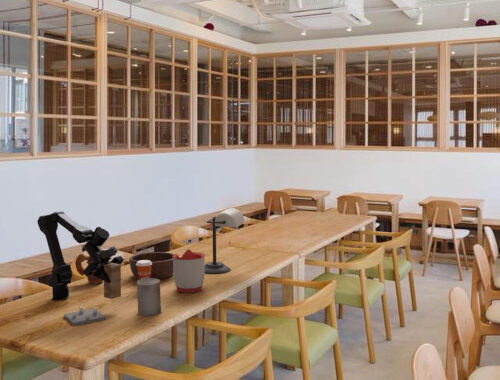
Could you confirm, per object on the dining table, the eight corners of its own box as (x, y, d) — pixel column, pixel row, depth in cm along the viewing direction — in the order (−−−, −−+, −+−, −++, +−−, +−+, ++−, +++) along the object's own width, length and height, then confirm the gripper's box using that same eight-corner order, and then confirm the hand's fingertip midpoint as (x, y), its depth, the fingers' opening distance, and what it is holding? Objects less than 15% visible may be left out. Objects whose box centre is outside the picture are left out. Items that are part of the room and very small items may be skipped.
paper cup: (137, 292, 270) (136, 263, 269) (135, 288, 278) (135, 260, 276) (153, 291, 273) (153, 262, 271) (152, 287, 280) (151, 259, 278)
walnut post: (104, 297, 243) (103, 265, 241) (112, 294, 247) (112, 262, 246) (112, 299, 240) (111, 266, 239) (120, 296, 244) (120, 264, 243)
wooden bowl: (124, 273, 308) (124, 254, 307) (169, 268, 319) (169, 250, 318) (135, 284, 286) (135, 264, 285) (183, 278, 296) (183, 259, 295)
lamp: (235, 277, 297) (234, 213, 293) (191, 275, 302) (190, 212, 299) (247, 265, 322) (247, 206, 319) (206, 263, 328) (205, 205, 324)
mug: (107, 280, 293) (106, 251, 291) (103, 284, 285) (102, 255, 283) (78, 280, 292) (77, 252, 291) (74, 285, 284) (73, 255, 283)
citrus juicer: (193, 282, 287) (192, 244, 285) (211, 290, 273) (211, 249, 271) (165, 288, 278) (164, 248, 276) (183, 296, 264) (182, 254, 262)
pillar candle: (150, 307, 248) (149, 273, 246) (165, 311, 242) (164, 277, 240) (133, 313, 241) (131, 278, 239) (148, 317, 234) (146, 282, 233)
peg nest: (64, 317, 236) (64, 308, 235) (95, 311, 243) (94, 302, 243) (74, 325, 225) (73, 316, 225) (105, 319, 232) (105, 310, 232)
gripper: (87, 245, 235) (107, 274, 231) (120, 237, 251) (139, 265, 246) (75, 261, 240) (94, 290, 236) (108, 253, 256) (126, 280, 251)
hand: (114, 281), depth 242 cm, fingers closed on walnut post, 5 cm apart
